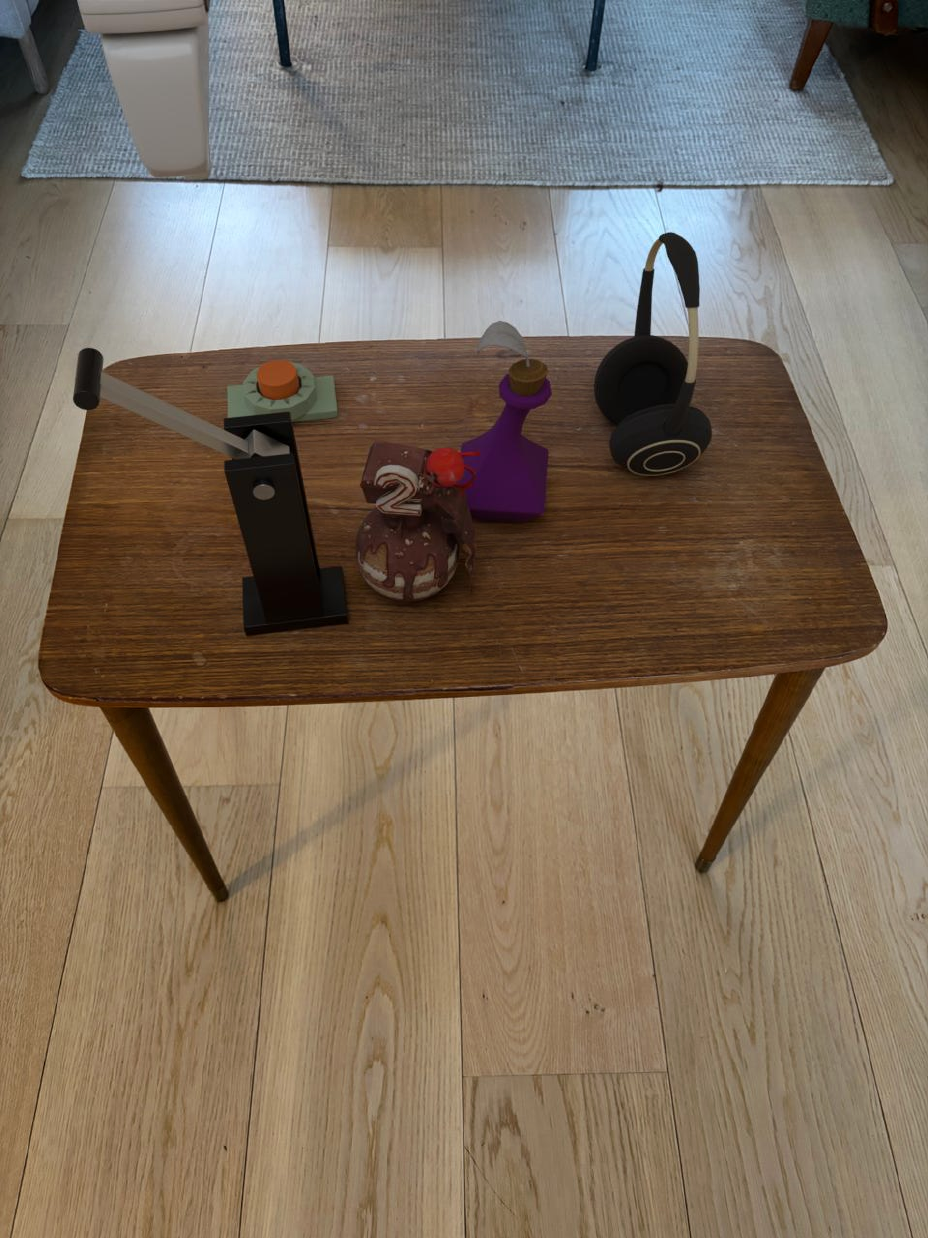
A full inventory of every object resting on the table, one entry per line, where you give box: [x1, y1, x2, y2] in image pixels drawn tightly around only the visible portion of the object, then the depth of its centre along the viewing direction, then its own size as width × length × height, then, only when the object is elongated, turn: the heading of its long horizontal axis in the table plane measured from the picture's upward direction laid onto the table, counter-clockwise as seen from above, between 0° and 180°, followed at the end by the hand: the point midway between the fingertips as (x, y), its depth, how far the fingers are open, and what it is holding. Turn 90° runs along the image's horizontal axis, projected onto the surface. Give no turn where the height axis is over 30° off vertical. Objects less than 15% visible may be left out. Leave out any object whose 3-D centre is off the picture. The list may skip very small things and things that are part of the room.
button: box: [257, 359, 299, 400], centre depth 90 cm, size 4×4×2 cm
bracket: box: [223, 411, 349, 637], centre depth 71 cm, size 8×6×18 cm
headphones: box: [593, 231, 713, 477], centre depth 81 cm, size 9×15×20 cm, turn 6°
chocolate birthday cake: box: [355, 439, 481, 603], centre depth 74 cm, size 9×8×15 cm
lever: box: [72, 347, 290, 459], centre depth 62 cm, size 14×4×2 cm
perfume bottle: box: [455, 320, 553, 525], centre depth 78 cm, size 8×8×18 cm
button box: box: [226, 360, 339, 423], centre depth 91 cm, size 10×6×2 cm, turn 99°
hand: (198, 168), depth 67 cm, fingers closed
